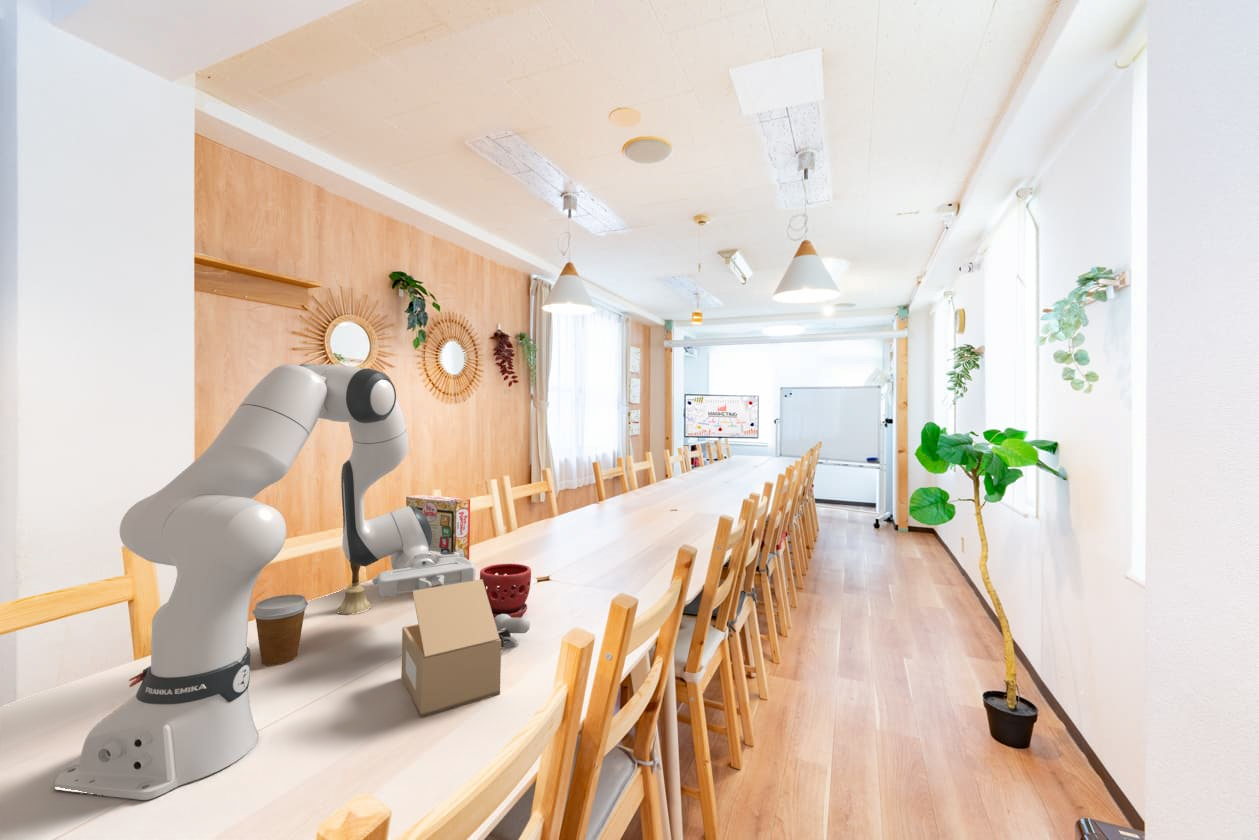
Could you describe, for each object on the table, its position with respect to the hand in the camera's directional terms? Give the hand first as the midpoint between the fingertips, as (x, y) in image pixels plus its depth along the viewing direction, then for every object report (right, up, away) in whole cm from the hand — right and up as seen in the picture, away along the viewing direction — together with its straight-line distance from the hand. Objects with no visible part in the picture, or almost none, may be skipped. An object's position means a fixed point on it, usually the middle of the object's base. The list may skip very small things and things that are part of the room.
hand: (436, 587), depth 106 cm
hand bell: (-33, -15, +28) cm, 46 cm away
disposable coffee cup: (-33, -15, 0) cm, 36 cm away
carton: (+6, -16, -9) cm, 19 cm away
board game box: (-18, -16, +48) cm, 53 cm away
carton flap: (+8, -1, -12) cm, 14 cm away
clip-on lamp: (+8, -16, +11) cm, 21 cm away
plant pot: (+8, -16, +27) cm, 32 cm away
